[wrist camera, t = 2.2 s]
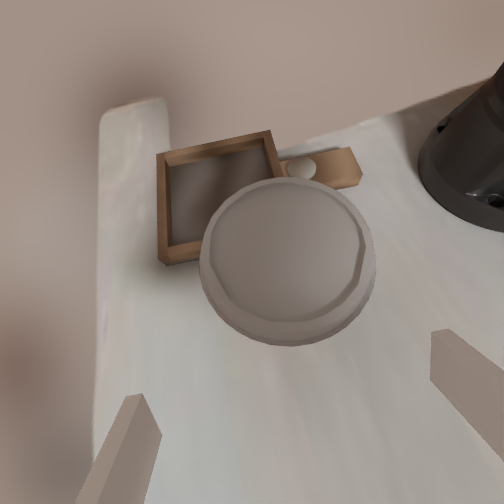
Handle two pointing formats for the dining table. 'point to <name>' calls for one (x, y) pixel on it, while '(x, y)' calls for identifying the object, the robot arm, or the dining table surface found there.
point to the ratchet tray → (228, 184)
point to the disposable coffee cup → (287, 261)
